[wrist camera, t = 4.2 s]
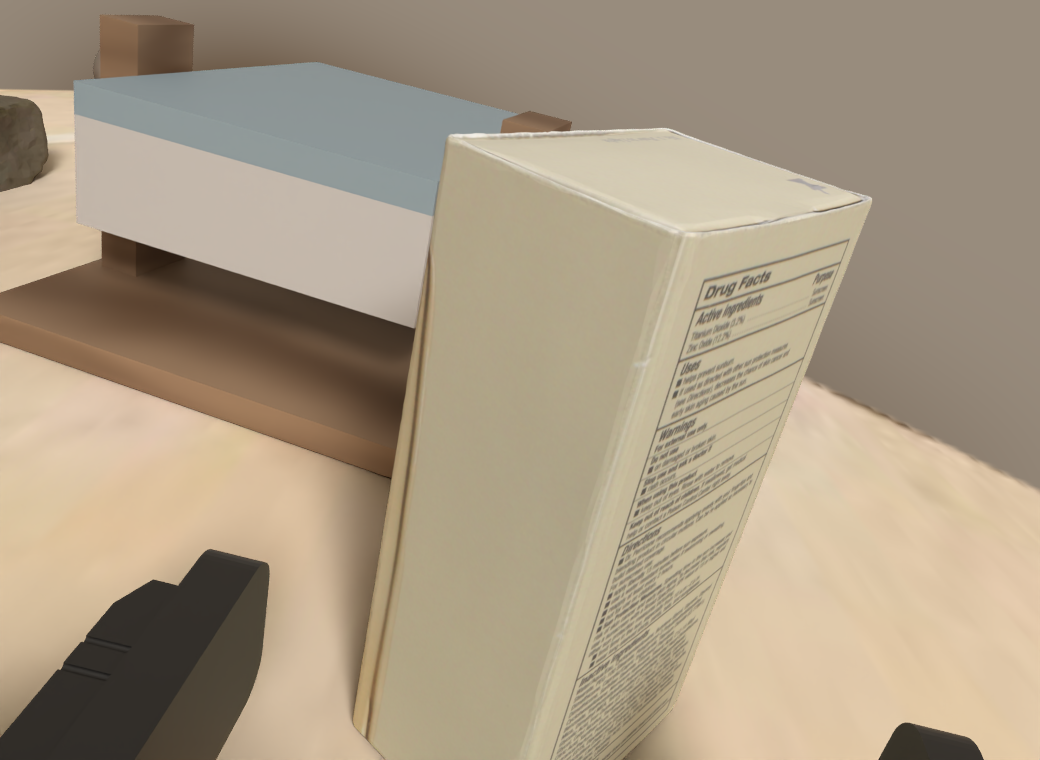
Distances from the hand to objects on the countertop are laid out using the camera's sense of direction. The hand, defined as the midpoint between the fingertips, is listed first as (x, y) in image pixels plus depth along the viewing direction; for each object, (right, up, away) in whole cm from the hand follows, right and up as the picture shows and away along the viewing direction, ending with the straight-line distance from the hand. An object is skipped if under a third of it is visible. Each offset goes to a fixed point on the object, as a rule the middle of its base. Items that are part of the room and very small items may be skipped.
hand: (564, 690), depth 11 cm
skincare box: (-1, -4, +8) cm, 9 cm away
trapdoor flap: (-7, +10, +23) cm, 26 cm away
